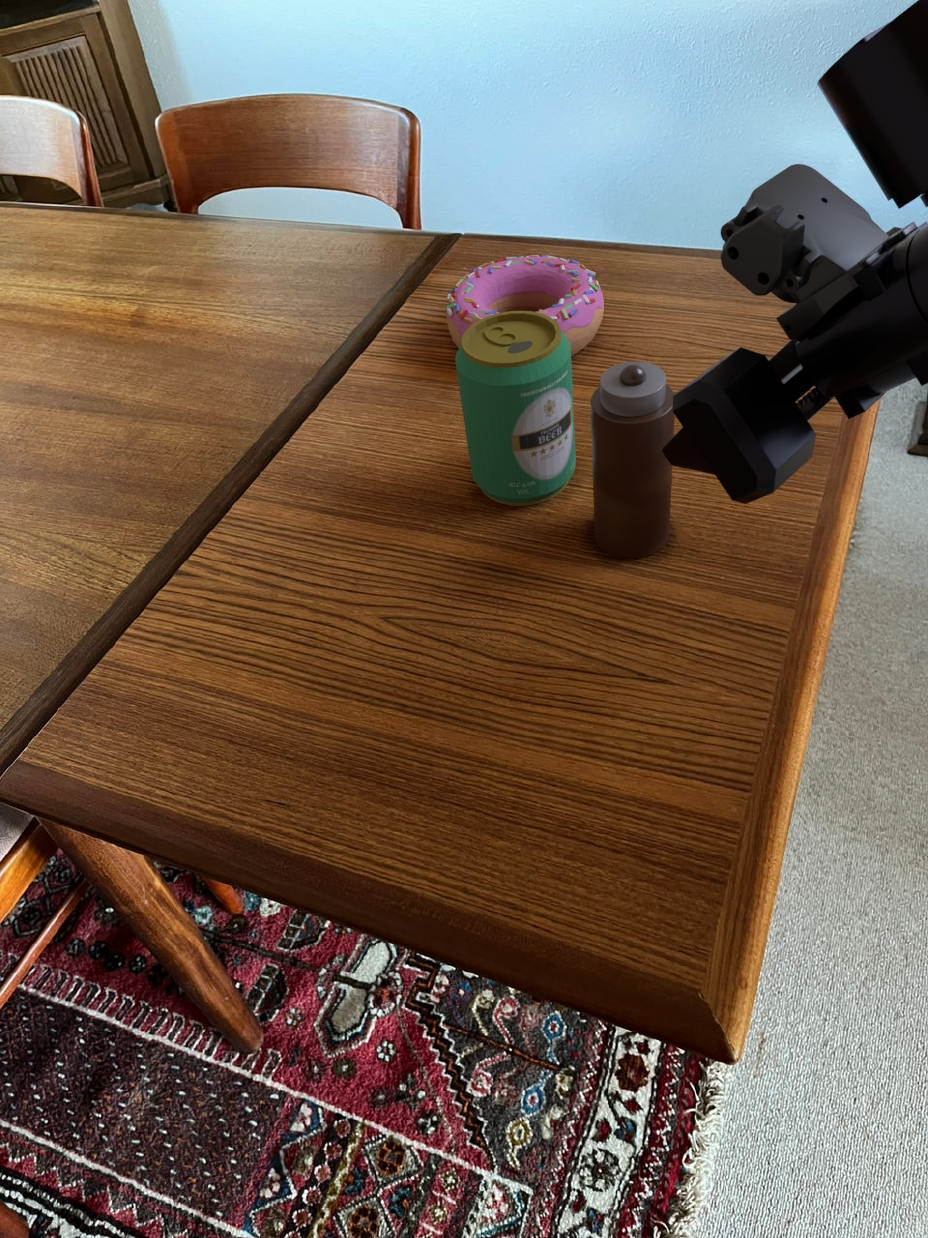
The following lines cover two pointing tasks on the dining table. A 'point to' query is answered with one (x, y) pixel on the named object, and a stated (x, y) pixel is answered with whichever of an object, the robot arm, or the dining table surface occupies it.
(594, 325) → the donut
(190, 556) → the dining table surface
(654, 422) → the pepper mill
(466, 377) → the beverage can
